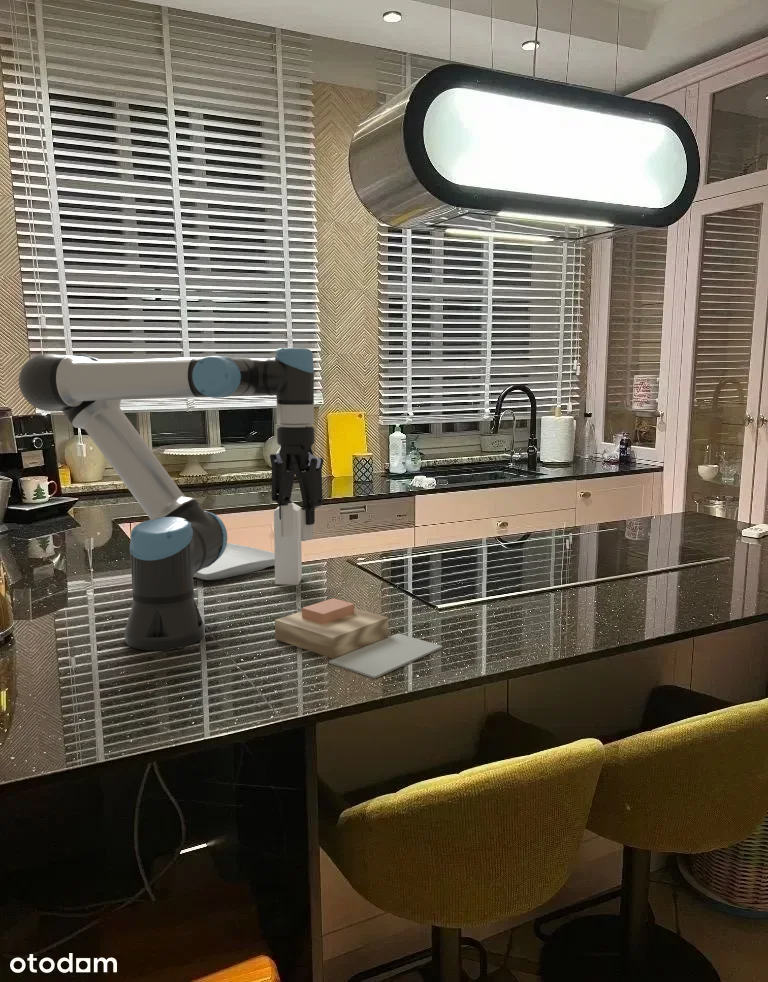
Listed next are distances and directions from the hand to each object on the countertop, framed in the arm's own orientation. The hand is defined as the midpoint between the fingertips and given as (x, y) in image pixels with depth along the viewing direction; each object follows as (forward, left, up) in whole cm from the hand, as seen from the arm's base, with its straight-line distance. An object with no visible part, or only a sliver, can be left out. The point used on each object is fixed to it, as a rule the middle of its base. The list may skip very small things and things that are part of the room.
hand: (297, 537), depth 156 cm
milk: (+22, +27, -19) cm, 40 cm away
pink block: (0, -9, -15) cm, 17 cm away
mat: (-1, -25, -19) cm, 32 cm away
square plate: (+19, +52, -19) cm, 59 cm away
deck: (-1, -11, -19) cm, 22 cm away
